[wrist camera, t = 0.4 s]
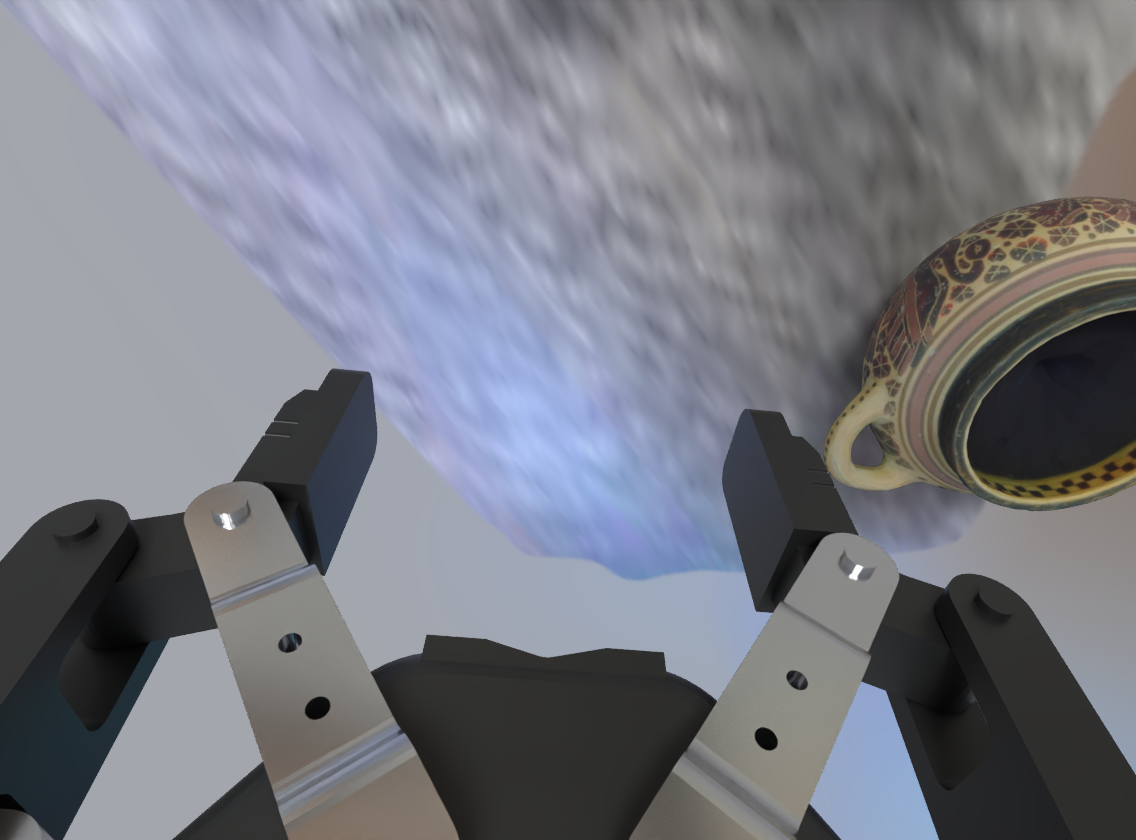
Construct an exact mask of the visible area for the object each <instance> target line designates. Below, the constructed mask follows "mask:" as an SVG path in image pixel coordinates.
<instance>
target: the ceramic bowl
mask: <svg viewBox="0 0 1136 840" xmlns="http://www.w3.org/2000/svg"><path fill="white" fill-rule="evenodd" d="M869 424H870V427H871V429H872V432H873V433H874V435H875V436H876V438H877V440H878V442H879V444H880V446H881V448H882V450H883V452H884V456H883V459H882V462H881V464H880V465H879V466H874V467H871V466H861V465H858V464H853V462H852V460H851V448H852V444H853V442H854V440H855V439H856V437H857V435H858V434H859V433H860V432H861V431H862V429H863V428H864V427H865V426H867V425H869ZM824 462H825V467H826V469H827V470H828V472H829V474H830V475H831V476H832V477H834V478H835V479H836V480H837V481H839V482H841V483H843V484H845V485H847V486H849V487H853V488H857V489H862V490H869V491H887V490H891V489H895V488H899V487H901V486H904V485H907V484H910V483H913V482H924V483H929V484H932V485H934V486H937V487H940V488H943V489H947V490H951V491H955V492H960V493H967V494H975V495H978V496H979V497H981V498H983V499H985V500H987V501H989V502H991V503H994V504H997V505H1000V506H1004V507H1009V508H1013V509H1022V510H1029V511H1049V510H1057V509H1064V508H1069V507H1073V506H1078V505H1082V504H1087V503H1090V502H1093V501H1096V500H1099V499H1102V498H1105V497H1108V496H1111V495H1113V494H1115V493H1117V492H1119V491H1121V490H1124V489H1126V488H1129V487H1131V486H1133V485H1135V484H1136V202H1133V201H1129V200H1125V199H1115V198H1104V197H1075V198H1063V199H1055V200H1049V201H1044V202H1040V203H1036V204H1032V205H1028V206H1024V207H1020V208H1016V209H1013V210H1010V211H1007V212H1005V213H1002V214H999V215H996V216H993V217H991V218H989V219H987V220H985V221H983V222H981V223H979V224H977V225H975V226H973V227H971V228H970V229H968V230H966V231H964V232H963V233H961V234H959V235H957V236H955V237H954V238H952V239H951V240H949V241H948V242H947V243H945V244H944V245H943V246H941V247H940V248H938V249H937V250H936V251H934V252H933V253H932V254H931V255H930V256H928V257H927V258H926V259H925V260H924V261H923V262H922V263H921V264H920V265H919V266H918V267H917V268H916V269H915V270H914V271H913V272H912V273H911V274H910V275H909V276H908V277H907V278H906V279H905V280H904V281H903V282H902V284H901V285H900V286H899V287H898V289H897V290H896V291H895V293H894V294H893V295H892V297H891V298H890V299H889V301H888V302H887V304H886V306H885V307H884V309H883V310H882V312H881V314H880V316H879V318H878V320H877V322H876V324H875V327H874V329H873V331H872V334H871V336H870V339H869V342H868V346H867V349H866V353H865V356H864V361H863V365H862V391H861V392H860V393H859V394H858V395H857V396H856V397H855V398H854V399H853V400H852V401H851V402H850V403H849V404H848V405H847V406H846V408H845V409H844V410H843V412H842V413H841V414H840V415H839V417H838V418H837V419H836V421H835V422H834V424H833V425H832V427H831V428H830V431H829V433H828V435H827V438H826V440H825V445H824Z"/></svg>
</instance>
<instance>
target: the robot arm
mask: <svg viewBox="0 0 1136 840" xmlns="http://www.w3.org/2000/svg"><path fill="white" fill-rule="evenodd" d="M376 444H377V423H376V413H375V403H374V393H373V383H372V377H371V374H370V373H369V372H365V371H354V370H344V369H332V370H330V372H329V373H328V375H327V376H326V378H325V380H324V381H323V383H322V385H321V386H320V388H319V390H318V391H316V390H303V391H302V392H300V393H299V394H297V395H296V396H294V397H293V398H291V399H290V400H288V401H287V402H286V403H284V405H283V407H282V408H281V409H280V411H279V412H278V414H277V416H276V417H275V418H274V422H272V423H271V424H270V426H269V427H268V429H267V431H266V432H265V436H263V437H262V438H261V440H260V441H259V443H258V444H257V446H256V447H255V449H254V450H253V452H252V453H251V455H250V456H249V458H248V459H247V461H246V462H245V464H244V465H243V467H242V468H241V470H240V471H239V473H238V474H237V476H236V477H235V479H234V480H233V482H231V483H227V484H222V485H219V486H216V487H213V488H211V489H209V490H207V491H205V492H204V493H202V494H201V495H199V496H198V497H197V498H195V499H194V500H193V501H192V502H191V504H190V505H189V506H188V508H187V509H186V512H183V513H178V514H173V515H166V516H158V517H151V518H145V519H137V520H131V519H130V517H129V515H128V512H127V511H126V509H125V508H124V507H123V506H122V505H120V504H119V503H116V502H113V501H110V500H101V499H96V500H85V501H80V502H75V503H72V504H69V505H66V506H63V507H61V508H58V509H56V510H54V511H52V512H50V513H48V514H47V515H45V516H44V517H42V518H41V519H39V520H38V521H37V522H36V523H35V524H33V525H32V526H31V527H30V528H29V530H28V531H27V532H26V533H25V534H24V535H23V537H22V538H21V539H20V540H19V541H18V542H17V543H16V544H15V546H14V547H13V548H12V549H11V550H10V551H9V552H8V554H7V555H6V556H5V557H4V558H3V559H2V560H1V562H0V840H63V838H64V836H65V834H66V832H67V831H68V829H69V827H70V825H71V823H72V821H73V819H74V817H75V815H76V813H77V812H78V810H79V808H80V806H81V804H82V802H83V800H84V799H85V797H86V795H87V793H88V791H89V789H90V787H91V785H92V783H93V781H94V779H95V778H96V776H97V774H98V772H99V770H100V768H101V766H102V765H103V763H104V761H105V759H106V757H107V755H108V753H109V751H110V749H111V747H112V746H113V743H114V742H115V740H116V738H117V736H118V734H119V732H120V731H121V729H122V726H123V725H124V723H125V721H126V719H127V717H128V716H129V714H130V712H131V710H132V708H133V706H134V704H135V702H136V700H137V699H138V697H139V695H140V693H141V691H142V689H143V687H144V685H145V683H146V682H147V680H148V678H149V676H150V674H151V672H152V670H153V668H154V666H155V665H156V663H157V661H158V659H159V657H160V655H161V653H162V651H163V649H164V648H165V646H166V644H167V642H168V640H169V638H171V637H176V636H181V635H186V634H191V633H196V632H201V631H206V630H211V629H216V628H218V629H219V632H220V635H221V638H222V641H223V644H224V647H225V649H226V653H227V655H228V658H229V661H230V664H231V667H232V670H233V673H234V676H235V679H236V682H237V685H238V688H239V691H240V694H241V697H242V700H243V703H244V706H245V709H246V712H247V715H248V718H249V720H250V724H251V727H252V730H253V733H254V736H255V739H256V742H257V745H258V748H259V751H260V754H261V757H262V760H263V762H262V763H261V764H260V765H258V766H257V767H256V768H255V769H254V770H252V771H251V772H250V773H249V774H248V775H247V776H246V777H244V778H243V779H242V780H241V781H240V782H238V783H237V784H236V785H235V786H234V787H233V788H231V789H230V790H229V791H228V792H227V793H226V794H225V795H224V796H222V797H221V798H220V799H219V800H218V801H216V802H215V803H214V804H213V805H212V806H211V807H209V808H208V809H207V810H206V811H205V812H204V813H202V814H201V815H200V816H199V817H198V818H197V819H195V820H194V821H193V822H192V823H191V824H190V825H189V826H187V827H186V828H185V829H184V830H183V831H182V832H180V833H179V834H178V835H177V836H176V837H175V838H173V839H172V840H841V839H840V838H839V837H838V836H837V834H836V833H835V832H834V831H833V830H832V829H831V828H830V826H829V825H828V824H827V823H826V822H825V821H824V820H823V818H822V817H821V816H820V815H819V814H818V813H817V812H816V811H815V809H814V808H813V807H812V806H811V805H810V804H809V802H810V800H811V797H812V795H813V793H814V791H815V788H816V786H817V784H818V781H819V779H820V777H821V774H822V772H823V769H824V767H825V765H826V763H827V760H828V758H829V756H830V753H831V751H832V748H833V746H834V744H835V741H836V739H837V737H838V735H839V732H840V730H841V727H842V725H843V723H844V720H845V718H846V716H847V713H848V711H849V709H850V706H851V704H852V702H853V699H854V697H855V694H856V692H857V690H858V688H859V685H860V683H861V681H862V682H864V683H867V684H870V685H872V686H875V687H878V688H880V689H883V690H886V692H887V695H888V698H889V700H890V703H891V706H892V709H893V712H894V714H895V717H896V720H897V723H898V726H899V728H900V731H901V734H902V737H903V739H904V742H905V745H906V748H907V751H908V753H909V756H910V759H911V762H912V765H913V768H914V770H915V773H916V776H917V779H918V781H919V784H920V787H921V790H922V793H923V796H924V798H925V801H926V804H927V807H928V810H929V812H930V815H931V818H932V821H933V824H934V826H935V829H936V832H937V835H938V838H939V840H1136V775H1135V773H1134V771H1133V770H1132V768H1131V767H1130V765H1129V764H1128V762H1127V760H1126V759H1125V757H1124V756H1123V754H1122V753H1121V751H1120V749H1119V748H1118V746H1117V745H1116V743H1115V741H1114V740H1113V738H1112V736H1111V735H1110V733H1109V732H1108V730H1107V728H1106V727H1105V725H1104V724H1103V722H1102V721H1101V719H1100V717H1099V716H1098V714H1097V713H1096V711H1095V709H1094V708H1093V706H1092V705H1091V703H1090V702H1089V700H1088V698H1087V697H1086V695H1085V693H1084V692H1083V690H1082V689H1081V687H1080V686H1079V684H1078V682H1077V681H1076V679H1075V678H1074V676H1073V674H1072V673H1071V671H1070V670H1069V668H1068V666H1067V665H1066V663H1065V662H1064V660H1063V658H1062V657H1061V655H1060V654H1059V652H1058V651H1057V649H1056V647H1055V646H1054V644H1053V643H1052V641H1051V639H1050V638H1049V636H1048V635H1047V633H1046V631H1045V630H1044V628H1043V627H1042V625H1041V624H1040V622H1039V620H1038V619H1037V617H1036V616H1035V614H1034V612H1033V611H1032V610H1031V608H1030V607H1029V605H1028V604H1027V603H1026V602H1025V601H1024V600H1023V599H1022V598H1021V597H1020V596H1019V595H1018V594H1016V593H1015V592H1014V591H1012V590H1011V589H1010V588H1008V587H1006V586H1005V585H1003V584H1001V583H999V582H997V581H995V580H993V579H991V578H988V577H985V576H981V575H976V574H961V575H958V576H956V577H954V578H953V579H952V580H951V582H950V583H949V584H948V586H947V587H946V588H945V589H944V588H941V587H938V586H935V585H932V584H928V583H926V582H922V581H920V580H916V579H914V578H910V577H908V576H905V575H903V574H900V573H899V572H898V568H897V566H896V564H895V563H894V561H893V560H892V558H891V557H890V556H889V555H888V554H887V553H886V552H885V551H884V550H883V549H882V548H881V547H879V546H878V545H876V544H875V543H873V542H871V541H870V540H867V539H865V538H863V537H860V536H859V535H858V533H857V531H856V529H855V527H854V525H853V523H852V521H851V519H850V517H849V514H848V512H847V510H846V508H845V506H844V504H843V502H842V500H841V498H840V496H839V494H838V492H837V490H836V488H834V483H833V481H832V479H831V477H830V475H829V474H827V469H826V467H825V465H824V463H823V461H822V459H821V457H820V454H819V453H818V452H817V451H816V450H815V449H814V448H813V447H812V446H811V445H810V444H809V443H808V442H807V441H806V440H805V439H804V438H803V437H796V436H792V435H791V433H790V430H789V428H788V426H787V424H786V421H785V419H784V417H783V415H782V414H781V413H780V412H773V411H763V410H752V409H745V410H744V411H743V412H742V413H741V415H740V418H739V421H738V424H737V427H736V430H735V433H734V436H733V439H732V442H731V445H730V448H729V451H728V454H727V457H726V460H725V463H724V467H723V476H722V484H723V491H724V495H725V499H726V502H727V506H728V510H729V513H730V517H731V521H732V525H733V528H734V532H735V536H736V539H737V543H738V547H739V550H740V554H741V558H742V562H743V565H744V569H745V573H746V576H747V580H748V584H749V587H750V591H751V595H752V599H753V602H754V606H755V610H756V611H758V612H769V613H773V614H772V615H771V617H770V619H769V620H768V622H767V623H766V625H765V627H764V628H763V630H762V632H761V634H760V635H759V636H758V638H757V639H756V641H755V643H754V644H753V646H752V647H751V649H750V650H749V652H748V654H747V655H746V657H745V659H744V660H743V662H742V663H741V665H740V667H739V668H738V670H737V671H736V673H735V674H734V676H733V678H732V679H731V681H730V683H729V684H728V685H727V687H726V689H725V690H724V692H723V693H722V695H721V697H720V698H719V700H718V701H717V700H715V699H714V698H713V697H712V696H711V695H709V694H708V693H707V692H705V691H704V690H703V689H701V688H699V687H698V686H696V685H694V684H693V683H691V682H689V681H688V680H686V679H683V678H681V677H679V676H677V675H675V674H672V673H669V672H666V667H665V658H664V653H663V652H650V651H637V650H624V649H611V648H605V649H599V650H593V651H587V652H581V653H575V654H569V655H563V656H557V657H550V658H546V657H540V656H536V655H533V654H530V653H527V652H524V651H521V650H518V649H515V648H512V647H509V646H506V645H502V644H499V643H496V642H493V641H490V640H487V639H477V638H464V637H450V636H437V635H426V640H425V644H424V648H423V653H421V654H415V655H411V656H407V657H404V658H400V659H397V660H395V661H392V662H390V663H387V664H385V665H383V666H381V667H379V668H377V669H375V670H373V671H372V672H370V670H369V668H368V666H367V664H366V662H365V660H364V658H363V656H362V654H361V653H360V651H359V649H358V647H357V645H356V643H355V641H354V639H353V637H352V635H351V633H350V631H349V629H348V627H347V625H346V623H345V621H344V619H343V617H342V615H341V613H340V611H339V609H338V607H337V605H336V603H335V601H334V600H333V597H332V595H331V594H330V592H329V590H328V588H327V586H326V584H325V582H324V580H323V578H322V576H321V575H323V576H325V574H326V572H327V569H328V567H329V564H330V562H331V560H332V557H333V555H334V552H335V550H336V547H337V545H338V543H339V540H340V538H341V535H342V533H343V530H344V528H345V526H346V523H347V521H348V518H349V516H350V513H351V511H352V509H353V506H354V504H355V502H356V499H357V497H358V494H359V492H360V489H361V487H362V485H363V482H364V480H365V477H366V475H367V473H368V470H369V468H370V465H371V463H372V460H373V458H374V454H375V450H376ZM976 700H977V701H976ZM983 715H984V716H983ZM984 717H985V718H984ZM985 719H986V720H985Z"/></svg>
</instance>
